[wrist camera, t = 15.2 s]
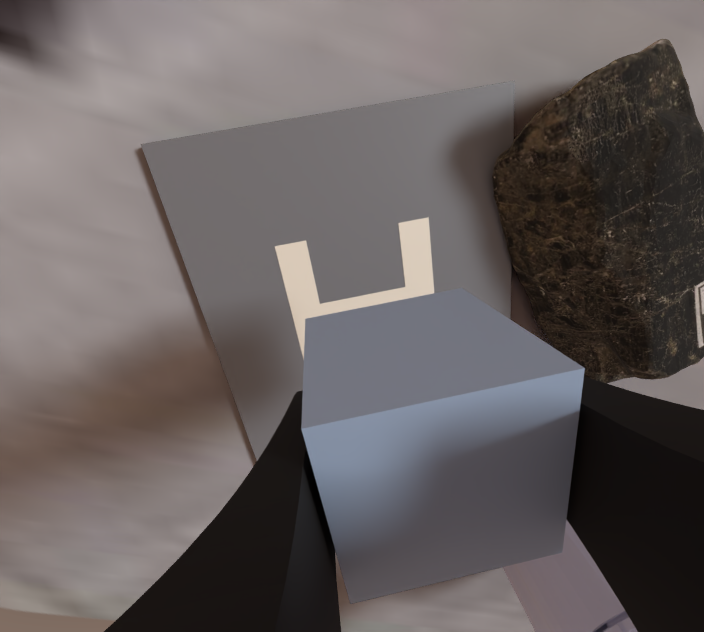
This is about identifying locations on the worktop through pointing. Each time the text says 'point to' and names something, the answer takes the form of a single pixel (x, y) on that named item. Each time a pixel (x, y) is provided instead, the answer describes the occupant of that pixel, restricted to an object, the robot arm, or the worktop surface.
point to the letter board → (333, 225)
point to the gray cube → (437, 440)
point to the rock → (612, 218)
